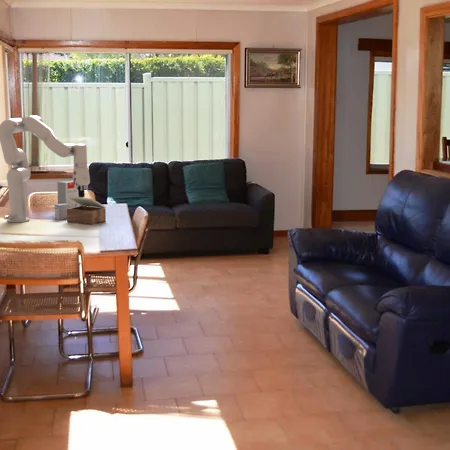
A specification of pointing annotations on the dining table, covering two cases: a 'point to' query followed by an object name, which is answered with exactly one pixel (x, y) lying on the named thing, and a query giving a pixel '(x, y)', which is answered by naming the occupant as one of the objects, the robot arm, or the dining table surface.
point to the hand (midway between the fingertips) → (81, 196)
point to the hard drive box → (67, 193)
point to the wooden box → (86, 215)
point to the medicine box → (61, 211)
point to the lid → (87, 202)
